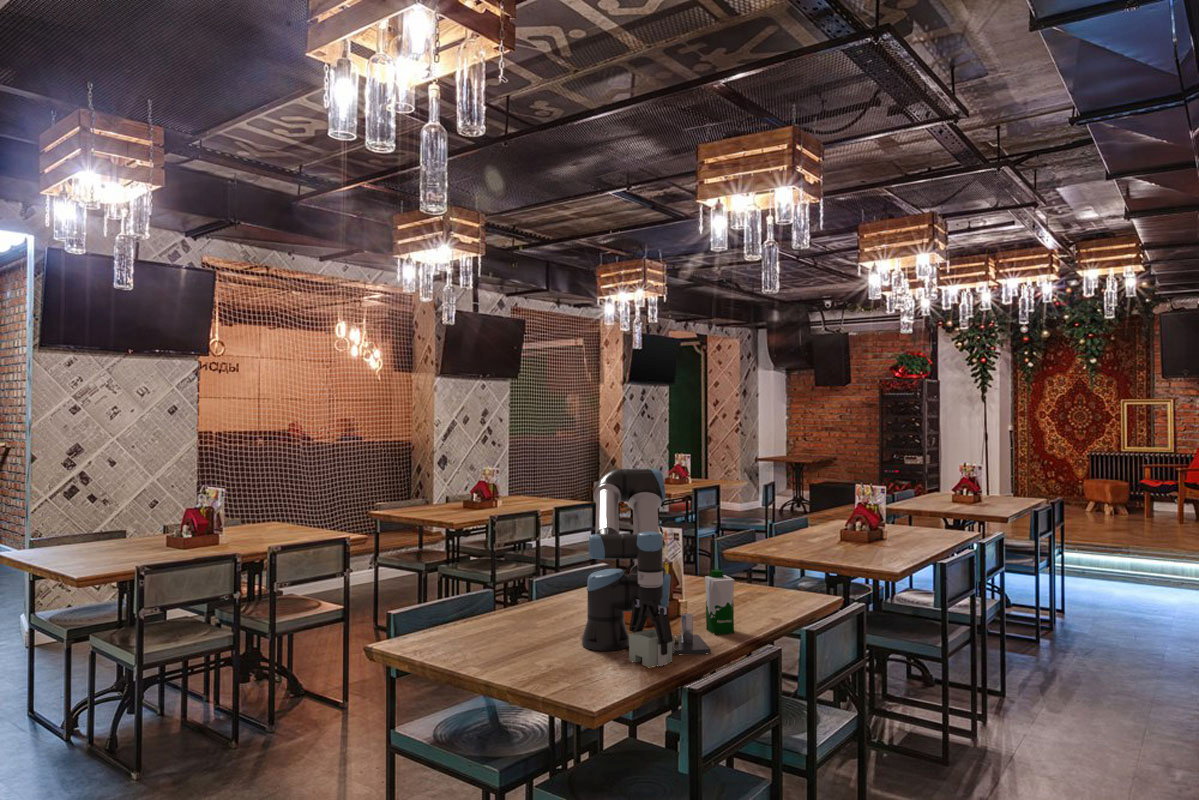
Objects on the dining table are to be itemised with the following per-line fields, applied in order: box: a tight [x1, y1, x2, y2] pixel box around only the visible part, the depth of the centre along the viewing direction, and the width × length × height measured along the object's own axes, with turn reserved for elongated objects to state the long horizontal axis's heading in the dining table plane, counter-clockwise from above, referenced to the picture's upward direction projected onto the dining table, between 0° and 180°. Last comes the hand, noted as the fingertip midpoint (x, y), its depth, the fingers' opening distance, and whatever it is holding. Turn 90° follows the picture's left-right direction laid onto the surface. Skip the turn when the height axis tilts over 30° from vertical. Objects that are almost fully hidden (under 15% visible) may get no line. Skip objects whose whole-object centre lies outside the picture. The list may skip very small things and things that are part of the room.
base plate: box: [672, 613, 712, 656], centre depth 246 cm, size 11×16×10 cm
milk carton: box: [704, 569, 736, 636], centre depth 263 cm, size 9×9×20 cm
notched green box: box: [628, 628, 673, 667], centre depth 231 cm, size 9×9×8 cm
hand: (650, 661), depth 231 cm, fingers open, 10 cm apart
